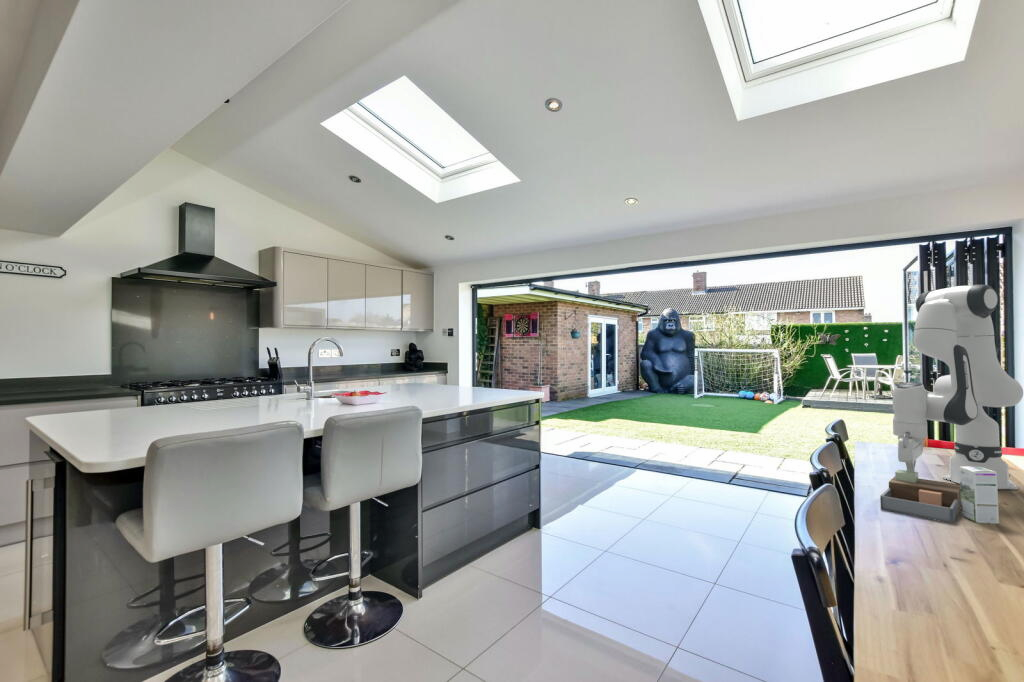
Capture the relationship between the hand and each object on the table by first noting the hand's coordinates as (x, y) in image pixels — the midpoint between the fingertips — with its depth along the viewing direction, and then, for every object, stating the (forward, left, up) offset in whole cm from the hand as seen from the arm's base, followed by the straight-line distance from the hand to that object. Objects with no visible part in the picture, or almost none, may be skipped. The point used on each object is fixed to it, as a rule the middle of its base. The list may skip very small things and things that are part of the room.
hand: (911, 472), depth 157 cm
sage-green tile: (+8, 0, -1) cm, 8 cm away
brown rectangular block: (+9, +5, -7) cm, 12 cm away
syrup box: (+18, +17, -7) cm, 26 cm away
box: (+21, +5, -7) cm, 23 cm away
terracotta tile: (+16, +7, -4) cm, 18 cm away
